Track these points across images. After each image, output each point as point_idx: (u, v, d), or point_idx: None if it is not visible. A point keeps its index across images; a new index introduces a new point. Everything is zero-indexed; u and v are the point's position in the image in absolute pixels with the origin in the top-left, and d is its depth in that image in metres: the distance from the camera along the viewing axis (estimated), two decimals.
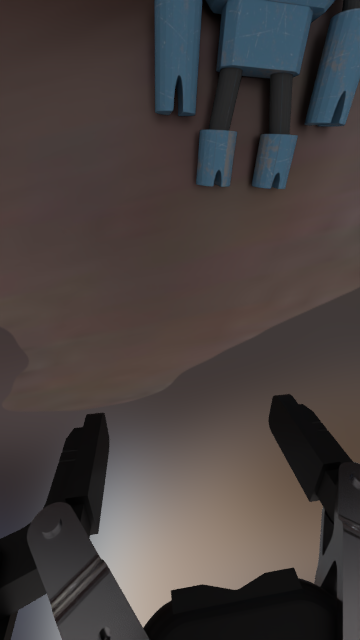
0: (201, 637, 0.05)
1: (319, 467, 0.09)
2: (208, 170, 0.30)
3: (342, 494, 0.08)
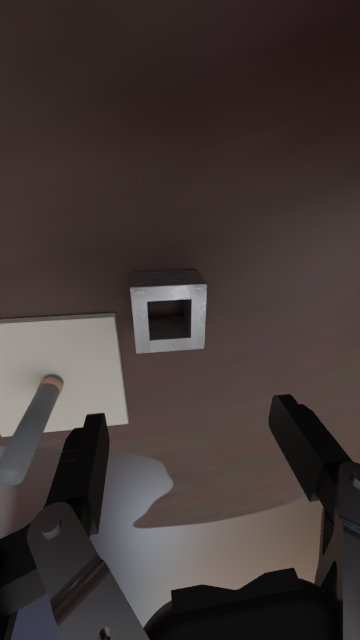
0: (201, 637, 0.05)
1: (319, 467, 0.09)
2: None
3: (342, 494, 0.08)
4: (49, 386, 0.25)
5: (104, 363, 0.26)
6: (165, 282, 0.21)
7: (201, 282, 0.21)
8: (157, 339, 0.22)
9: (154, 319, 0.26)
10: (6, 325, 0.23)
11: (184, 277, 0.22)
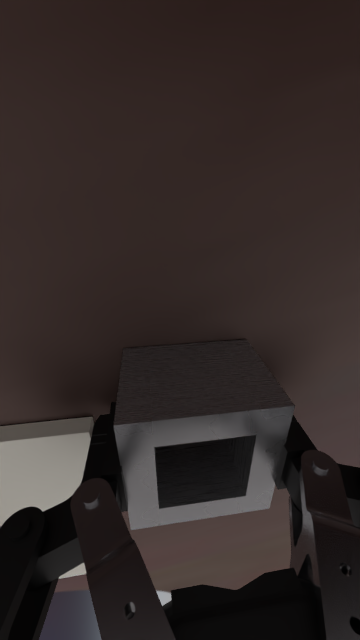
0: (201, 637, 0.05)
1: (284, 455, 0.09)
2: None
3: (301, 479, 0.08)
4: None
5: None
6: (196, 395, 0.09)
7: (277, 394, 0.09)
8: (175, 504, 0.10)
9: None
10: None
11: (232, 372, 0.10)
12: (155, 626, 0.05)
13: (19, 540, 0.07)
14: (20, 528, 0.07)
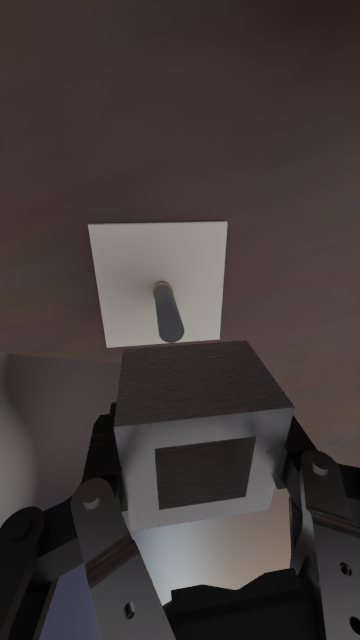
0: (201, 637, 0.05)
1: (284, 455, 0.09)
2: None
3: (301, 479, 0.08)
4: (167, 286, 0.27)
5: (210, 271, 0.29)
6: (195, 396, 0.09)
7: (277, 396, 0.09)
8: (175, 505, 0.10)
9: None
10: (134, 225, 0.26)
11: (232, 373, 0.10)
12: (155, 626, 0.05)
13: (19, 540, 0.07)
14: (20, 528, 0.07)
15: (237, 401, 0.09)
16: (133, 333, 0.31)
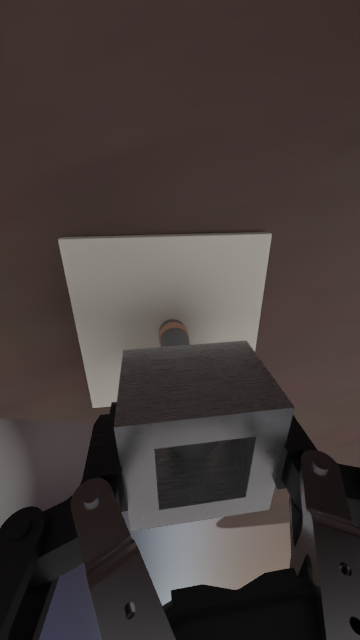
0: (201, 637, 0.05)
1: (284, 455, 0.09)
2: None
3: (301, 479, 0.08)
4: (180, 331, 0.18)
5: (242, 305, 0.20)
6: (195, 396, 0.09)
7: (277, 396, 0.09)
8: (175, 505, 0.10)
9: None
10: (130, 240, 0.17)
11: (232, 373, 0.10)
12: (155, 626, 0.05)
13: (19, 540, 0.07)
14: (20, 529, 0.07)
15: (237, 401, 0.09)
16: None
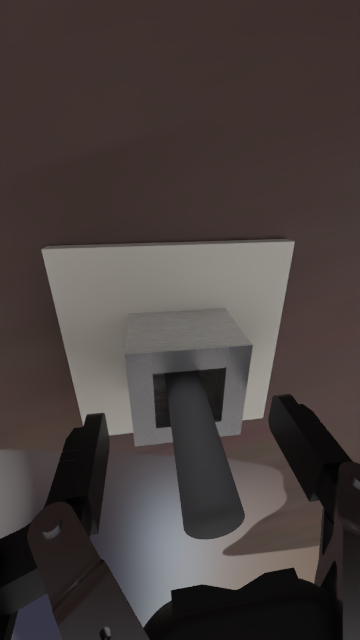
0: (201, 637, 0.05)
1: (319, 467, 0.09)
2: None
3: (342, 494, 0.08)
4: None
5: (257, 323, 0.17)
6: (183, 339, 0.13)
7: (242, 339, 0.13)
8: (168, 426, 0.14)
9: (161, 378, 0.17)
10: (128, 249, 0.14)
11: (211, 327, 0.14)
12: None
13: None
14: None
15: (212, 341, 0.12)
16: (128, 416, 0.19)
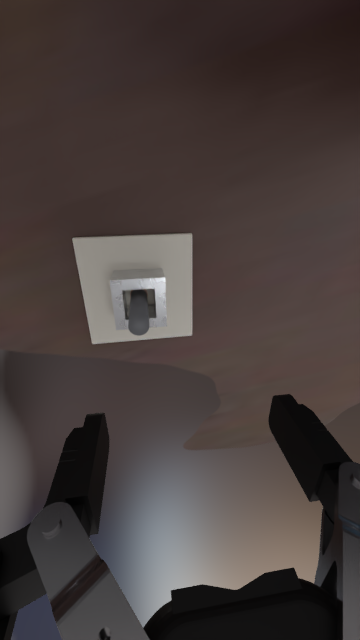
0: (201, 637, 0.05)
1: (319, 467, 0.09)
2: None
3: (342, 494, 0.08)
4: (141, 289, 0.31)
5: (180, 276, 0.33)
6: (135, 276, 0.29)
7: (161, 276, 0.29)
8: None
9: None
10: (111, 238, 0.30)
11: (150, 273, 0.30)
12: None
13: None
14: None
15: (148, 277, 0.29)
16: (115, 330, 0.35)
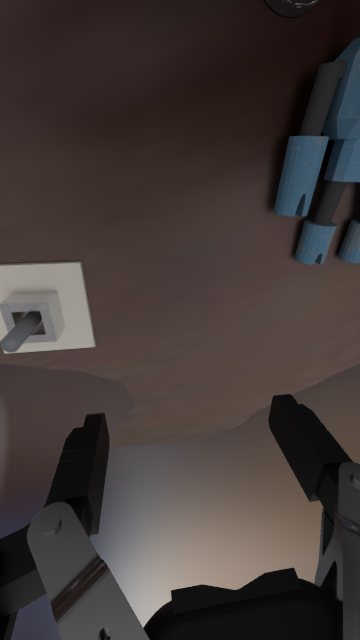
0: (201, 637, 0.05)
1: (319, 467, 0.09)
2: (311, 253, 0.37)
3: (342, 494, 0.08)
4: None
5: (75, 297, 0.39)
6: (24, 300, 0.34)
7: (46, 300, 0.34)
8: None
9: None
10: (8, 266, 0.35)
11: (41, 296, 0.35)
12: None
13: None
14: None
15: (34, 301, 0.34)
16: (23, 342, 0.41)
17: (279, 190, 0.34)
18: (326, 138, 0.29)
